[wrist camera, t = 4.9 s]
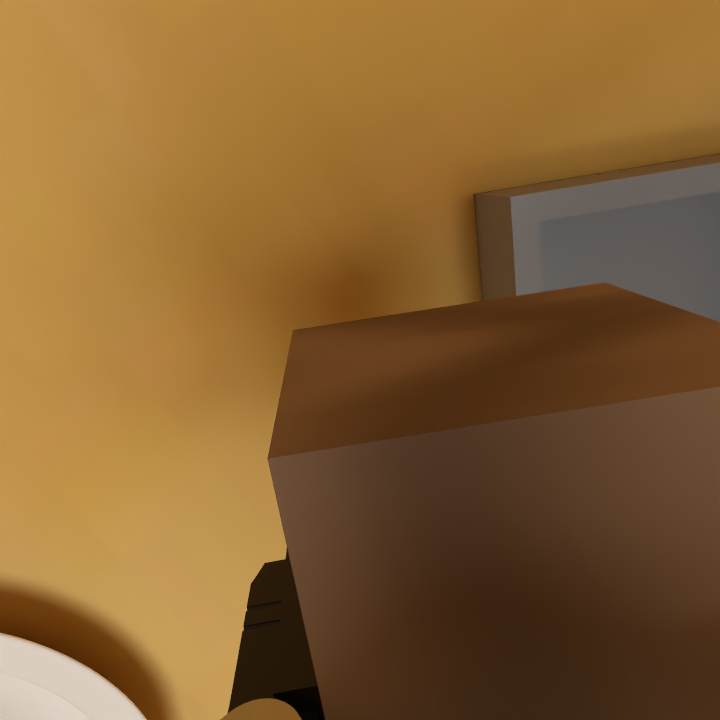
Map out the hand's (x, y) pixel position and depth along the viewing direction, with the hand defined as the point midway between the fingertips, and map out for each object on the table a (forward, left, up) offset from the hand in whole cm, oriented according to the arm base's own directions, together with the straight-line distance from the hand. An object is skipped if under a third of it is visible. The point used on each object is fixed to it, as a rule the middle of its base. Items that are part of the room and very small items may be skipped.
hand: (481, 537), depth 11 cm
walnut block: (0, 0, -1) cm, 1 cm away
